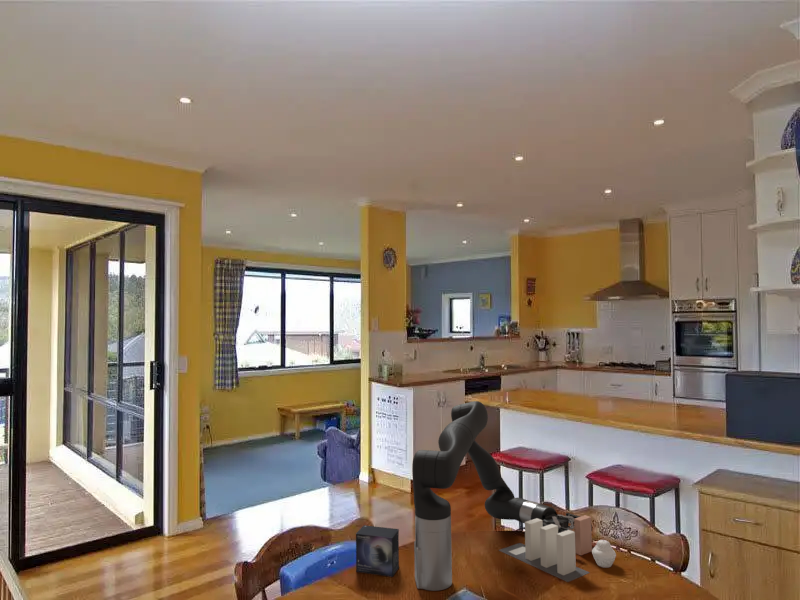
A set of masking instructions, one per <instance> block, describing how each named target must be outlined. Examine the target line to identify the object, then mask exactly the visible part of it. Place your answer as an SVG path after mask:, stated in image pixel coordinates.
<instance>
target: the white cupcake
mask: <svg viewBox="0 0 800 600" xmlns="http://www.w3.org/2000/svg"><path fill="white" fill-rule="evenodd" d="M591 554H592V556H593V559H594V560H595V563H596V564H597V566H598V567H600V568H604V569H605V568H611V567H612V566H613V564H614V562H615V559H616V557H617V553H616V551H615V550H614V549H613V547H612V546H611V542H609V540H605V539H600V540H597V542H596V544H595V546H594V547H592V551H591Z"/></svg>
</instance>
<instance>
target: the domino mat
mask: <svg viewBox="0 0 800 600" xmlns="http://www.w3.org/2000/svg"><path fill="white" fill-rule="evenodd" d="M498 551H499V552H501V553H503V554H504V555H505V554H506V555H508V556H510V557H512V558H514V559H516V560H519V561H521V562H523V563H525V564H527V565H530V566H532V567H534V568H536V569H538V570H541V571H542V572H544V573H547V574H549V575H551V576H553V577H556V578H557V579H560V580H562V581H564V582H566V583H569V582H572V581H575V580H576V579H579V578H581V577H583V576H585V575H587V574H588V575H589V574H590V573H591V572H589V571H587V570H585V569H582V568H580V567H579V566H576V571H573V572H571V573H568V574H566V575H561V574H559V573H557V564H555V565H553V566H550V567H548V568H546V567H543V566H541V557H540V558H538V559H535V560H532V561H530V560H528V559H526V552H525V543H524V544H523V543H521V542H519V543H515V544H513V545H510V546H507V547H503V548H499V549H498Z"/></svg>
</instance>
